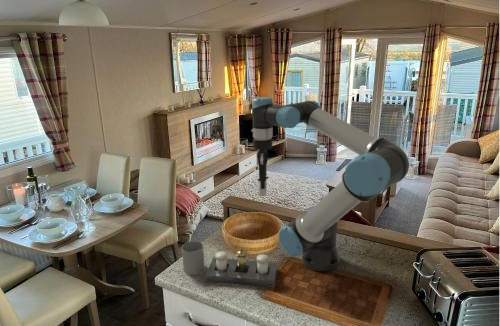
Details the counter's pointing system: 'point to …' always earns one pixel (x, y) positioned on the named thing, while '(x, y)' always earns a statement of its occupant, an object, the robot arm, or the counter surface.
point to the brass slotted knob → (241, 259)
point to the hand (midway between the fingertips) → (263, 195)
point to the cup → (193, 257)
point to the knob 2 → (262, 264)
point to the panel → (242, 274)
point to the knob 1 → (221, 261)
